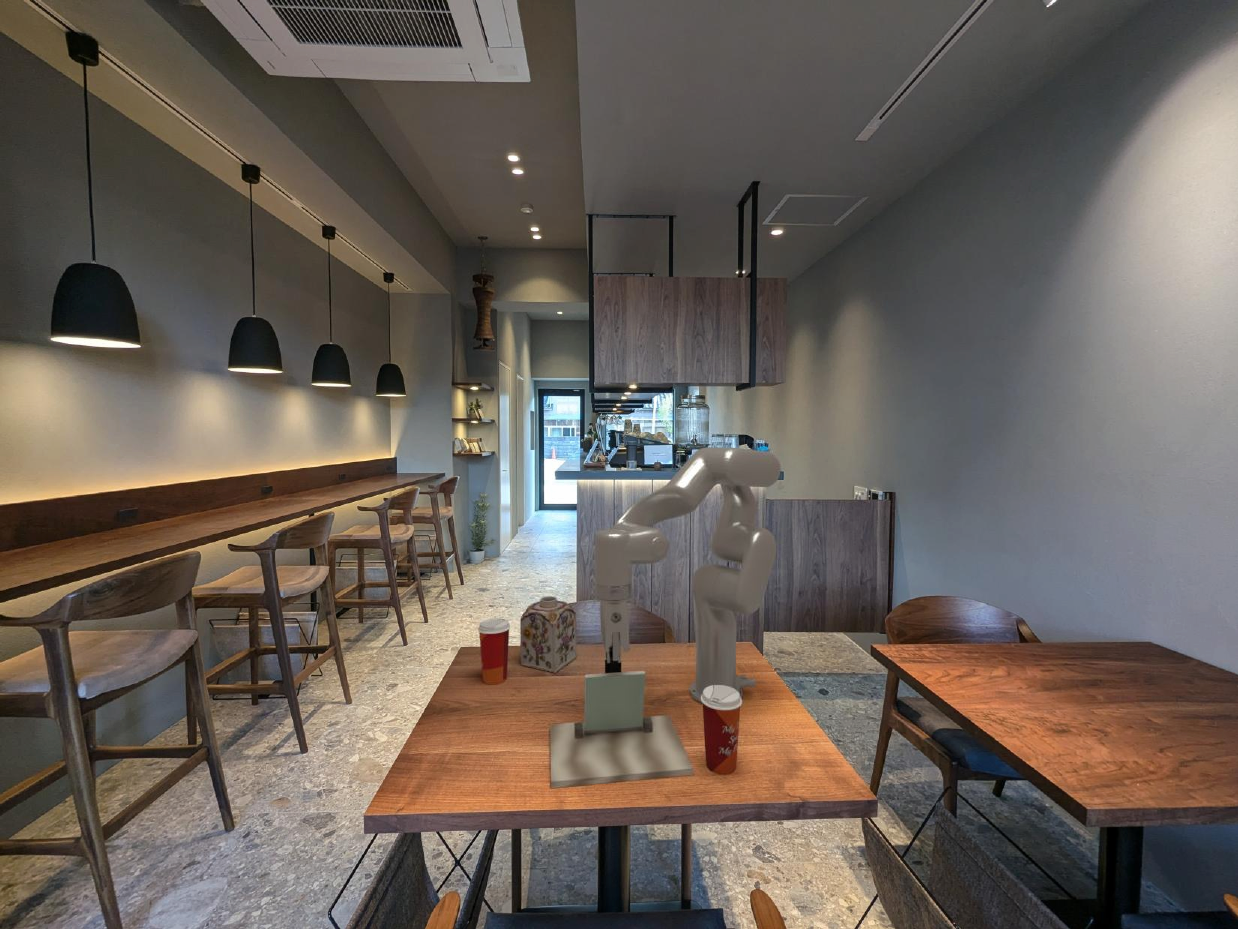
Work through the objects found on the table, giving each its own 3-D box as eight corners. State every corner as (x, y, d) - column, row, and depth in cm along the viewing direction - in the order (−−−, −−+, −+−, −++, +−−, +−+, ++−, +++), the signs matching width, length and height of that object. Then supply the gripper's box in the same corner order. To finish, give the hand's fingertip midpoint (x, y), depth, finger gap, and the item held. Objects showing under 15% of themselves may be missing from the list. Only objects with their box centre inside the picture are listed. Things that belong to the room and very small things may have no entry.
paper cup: (733, 783, 93) (734, 707, 93) (693, 769, 97) (694, 696, 97) (747, 761, 100) (748, 689, 99) (709, 748, 104) (710, 679, 103)
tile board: (669, 720, 115) (669, 706, 114) (693, 774, 96) (693, 757, 96) (550, 730, 111) (549, 715, 111) (550, 788, 92) (550, 770, 92)
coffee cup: (496, 670, 141) (495, 615, 140) (517, 677, 136) (517, 621, 135) (471, 681, 134) (470, 624, 133) (492, 690, 129) (491, 630, 128)
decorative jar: (543, 650, 154) (543, 590, 153) (577, 657, 148) (577, 595, 148) (519, 666, 143) (518, 601, 142) (554, 674, 138) (554, 607, 137)
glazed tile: (641, 726, 109) (644, 670, 105) (642, 730, 108) (645, 674, 104) (584, 731, 108) (585, 674, 104) (584, 735, 107) (585, 678, 102)
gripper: (637, 601, 99) (637, 696, 99) (626, 580, 114) (626, 663, 114) (598, 602, 98) (598, 698, 98) (591, 582, 113) (591, 665, 113)
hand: (613, 679), depth 106 cm, fingers closed
